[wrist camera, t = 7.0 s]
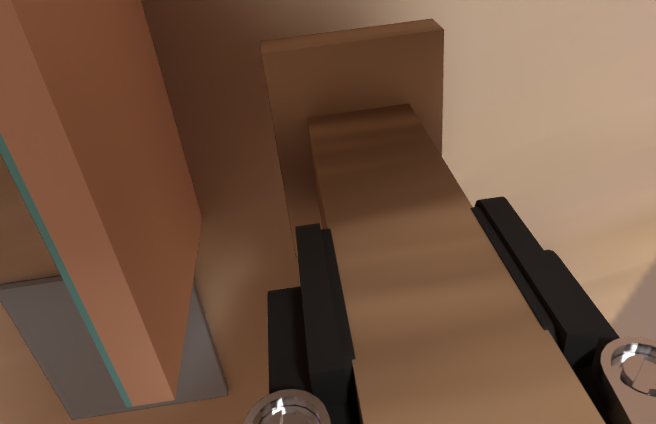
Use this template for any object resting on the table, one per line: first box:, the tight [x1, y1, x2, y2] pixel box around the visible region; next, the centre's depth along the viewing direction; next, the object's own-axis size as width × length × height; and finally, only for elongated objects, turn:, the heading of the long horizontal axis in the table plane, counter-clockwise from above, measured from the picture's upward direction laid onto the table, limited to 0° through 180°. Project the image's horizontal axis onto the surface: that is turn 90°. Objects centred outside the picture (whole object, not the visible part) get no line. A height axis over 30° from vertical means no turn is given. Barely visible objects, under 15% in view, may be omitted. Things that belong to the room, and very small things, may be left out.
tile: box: [0, 0, 203, 407], centre depth 17 cm, size 12×2×10 cm, turn 6°
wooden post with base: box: [261, 19, 605, 424], centre depth 12 cm, size 7×5×12 cm
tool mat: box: [0, 276, 228, 420], centre depth 28 cm, size 10×9×1 cm
